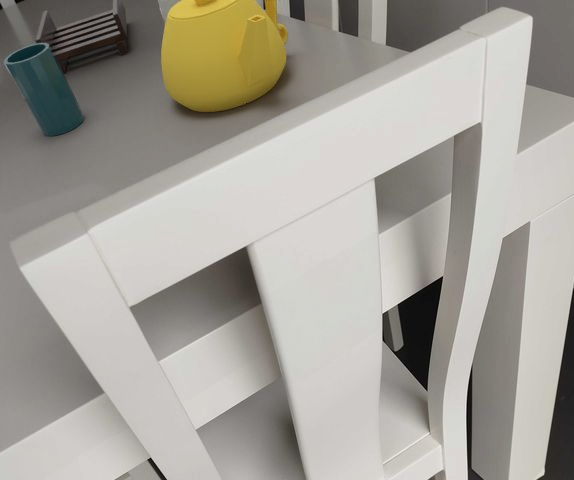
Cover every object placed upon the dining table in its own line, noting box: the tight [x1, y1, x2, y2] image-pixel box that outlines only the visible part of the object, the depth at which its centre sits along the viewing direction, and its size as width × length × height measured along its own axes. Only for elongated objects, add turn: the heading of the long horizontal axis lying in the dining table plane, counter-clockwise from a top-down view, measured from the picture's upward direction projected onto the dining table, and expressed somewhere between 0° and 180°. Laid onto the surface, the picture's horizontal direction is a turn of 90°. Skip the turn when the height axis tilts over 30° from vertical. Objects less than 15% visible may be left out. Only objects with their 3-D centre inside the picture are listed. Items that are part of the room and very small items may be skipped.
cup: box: [3, 43, 85, 137], centre depth 81 cm, size 6×6×10 cm
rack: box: [35, 0, 129, 75], centre depth 103 cm, size 14×17×6 cm
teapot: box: [160, 0, 289, 113], centre depth 75 cm, size 20×19×13 cm
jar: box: [157, 0, 182, 24], centre depth 90 cm, size 9×8×12 cm
